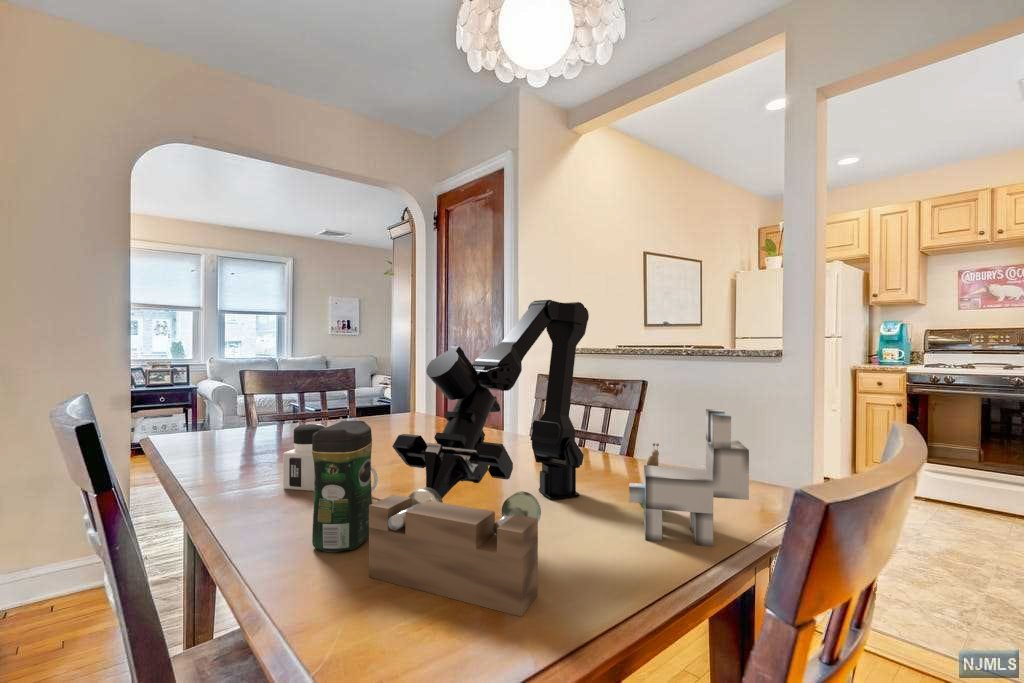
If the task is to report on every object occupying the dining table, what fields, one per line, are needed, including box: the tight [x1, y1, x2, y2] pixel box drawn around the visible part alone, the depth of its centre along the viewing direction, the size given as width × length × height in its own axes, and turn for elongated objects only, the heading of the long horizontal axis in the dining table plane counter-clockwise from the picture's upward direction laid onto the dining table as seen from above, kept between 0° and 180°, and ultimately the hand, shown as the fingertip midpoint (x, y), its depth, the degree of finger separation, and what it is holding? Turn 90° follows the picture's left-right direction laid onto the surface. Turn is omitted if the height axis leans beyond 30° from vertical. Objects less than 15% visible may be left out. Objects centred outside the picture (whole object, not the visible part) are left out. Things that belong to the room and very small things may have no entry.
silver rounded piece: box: [388, 486, 444, 531], centre depth 66 cm, size 8×5×5 cm, turn 155°
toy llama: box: [628, 408, 750, 547], centre depth 80 cm, size 8×18×20 cm, turn 77°
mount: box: [368, 494, 539, 617], centre depth 63 cm, size 5×22×10 cm, turn 65°
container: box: [282, 423, 327, 492], centre depth 106 cm, size 8×8×13 cm
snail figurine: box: [638, 442, 660, 510], centre depth 91 cm, size 5×6×12 cm
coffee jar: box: [311, 420, 373, 553], centre depth 77 cm, size 10×8×19 cm
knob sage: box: [493, 491, 542, 535], centre depth 64 cm, size 8×5×5 cm, turn 155°
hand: (429, 506), depth 70 cm, fingers closed, pressing on silver rounded piece
